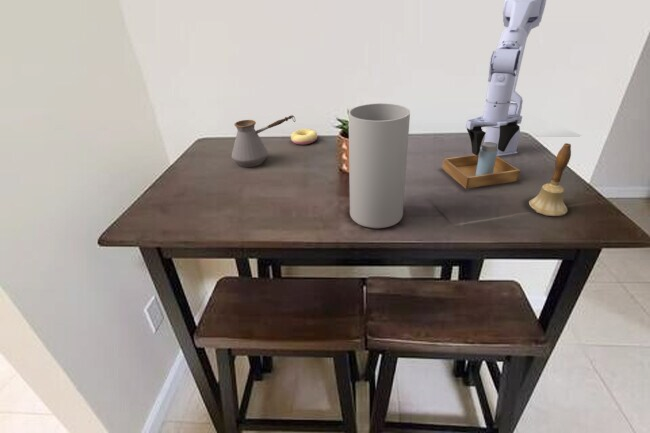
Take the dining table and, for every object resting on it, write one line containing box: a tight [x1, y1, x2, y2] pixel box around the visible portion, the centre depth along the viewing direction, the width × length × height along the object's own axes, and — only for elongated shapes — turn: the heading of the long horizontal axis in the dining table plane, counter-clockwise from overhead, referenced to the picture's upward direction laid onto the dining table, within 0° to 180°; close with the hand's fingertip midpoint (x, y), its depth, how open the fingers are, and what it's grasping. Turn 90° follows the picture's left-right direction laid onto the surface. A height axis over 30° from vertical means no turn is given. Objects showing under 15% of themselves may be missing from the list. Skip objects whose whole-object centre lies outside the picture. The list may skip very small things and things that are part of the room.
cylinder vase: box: [347, 103, 411, 229], centre depth 85 cm, size 12×12×25 cm
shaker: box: [476, 141, 498, 176], centre depth 103 cm, size 4×4×9 cm
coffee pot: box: [231, 114, 296, 168], centre depth 118 cm, size 21×12×15 cm, turn 84°
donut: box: [290, 128, 318, 146], centre depth 136 cm, size 10×5×9 cm
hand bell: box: [528, 143, 572, 217], centre depth 87 cm, size 8×8×16 cm
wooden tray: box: [442, 154, 521, 189], centre depth 106 cm, size 15×13×4 cm
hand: (488, 152), depth 102 cm, fingers open, 7 cm apart
